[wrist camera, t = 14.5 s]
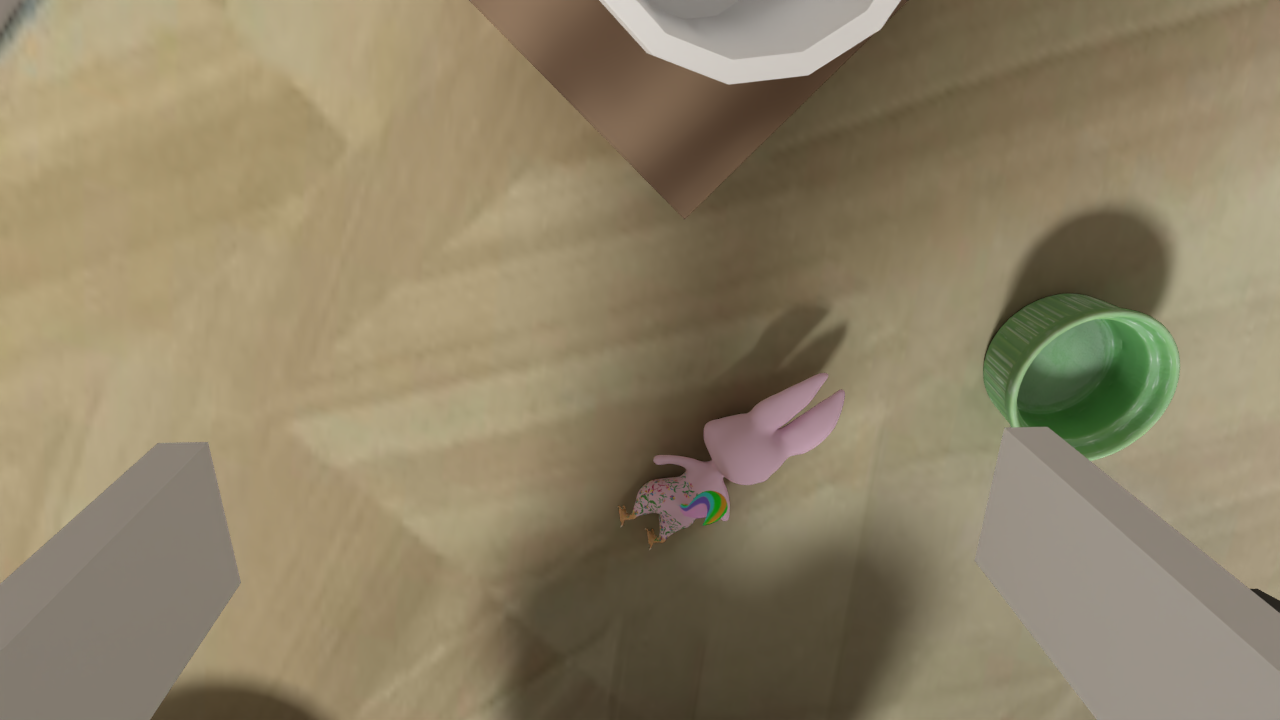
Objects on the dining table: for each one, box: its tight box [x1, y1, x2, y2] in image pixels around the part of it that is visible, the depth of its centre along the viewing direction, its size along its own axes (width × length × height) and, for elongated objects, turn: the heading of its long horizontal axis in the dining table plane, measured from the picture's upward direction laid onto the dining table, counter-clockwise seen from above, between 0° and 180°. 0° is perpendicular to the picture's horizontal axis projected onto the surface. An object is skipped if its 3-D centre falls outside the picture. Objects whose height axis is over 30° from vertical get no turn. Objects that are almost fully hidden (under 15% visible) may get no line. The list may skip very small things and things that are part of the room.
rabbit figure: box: [617, 373, 845, 550], centre depth 41 cm, size 6×6×15 cm
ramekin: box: [983, 294, 1180, 461], centre depth 41 cm, size 9×9×4 cm
